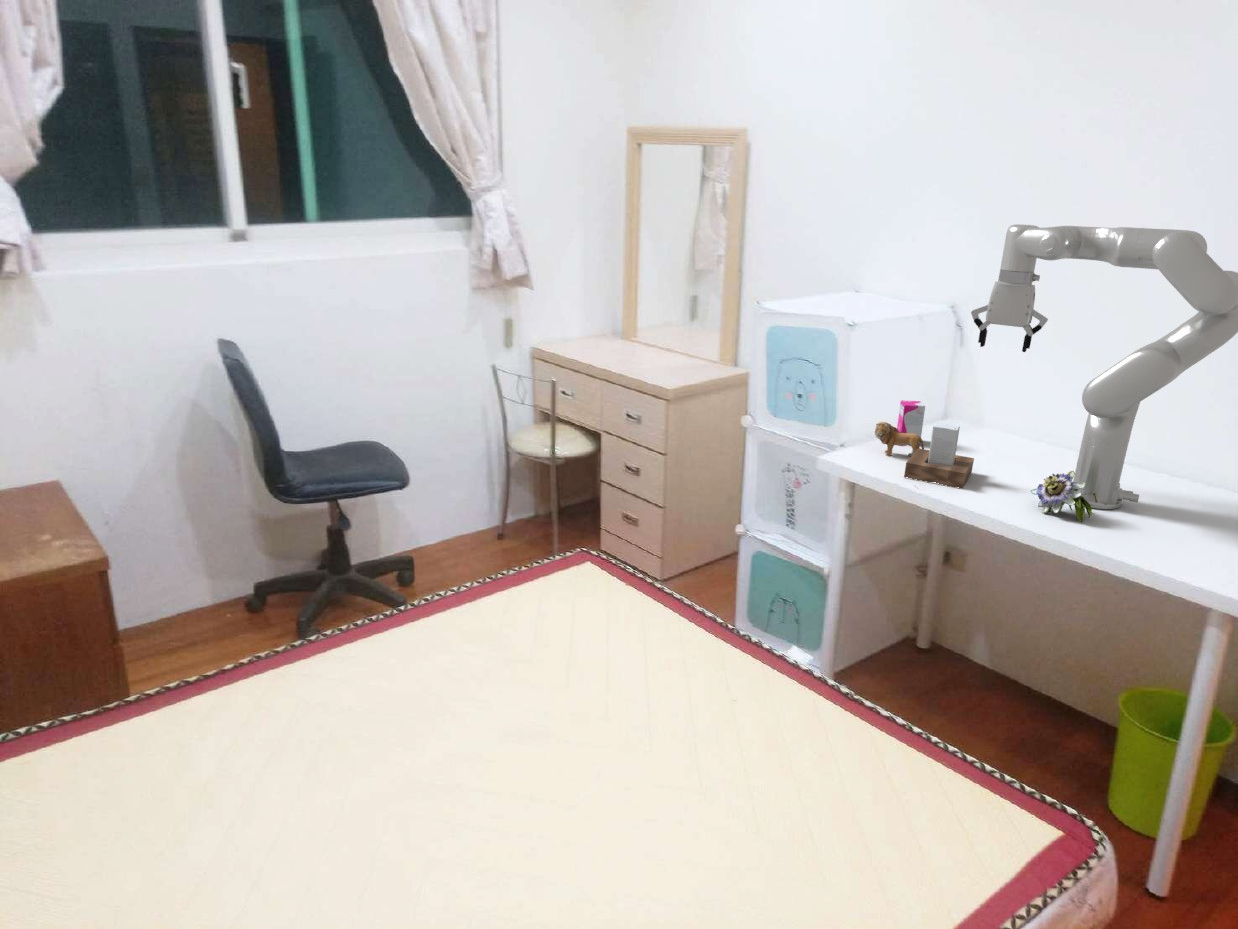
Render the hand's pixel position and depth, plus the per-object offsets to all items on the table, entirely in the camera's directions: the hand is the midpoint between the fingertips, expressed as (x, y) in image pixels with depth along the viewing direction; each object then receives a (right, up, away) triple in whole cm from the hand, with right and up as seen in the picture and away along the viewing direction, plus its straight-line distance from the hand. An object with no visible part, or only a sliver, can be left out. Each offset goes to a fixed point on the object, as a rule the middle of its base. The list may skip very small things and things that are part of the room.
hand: (1003, 348), depth 221 cm
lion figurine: (-19, -26, +21) cm, 39 cm away
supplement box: (-13, -22, +34) cm, 42 cm away
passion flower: (+7, -40, -14) cm, 43 cm away
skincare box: (-13, -30, +7) cm, 34 cm away
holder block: (-13, -31, +7) cm, 35 cm away
